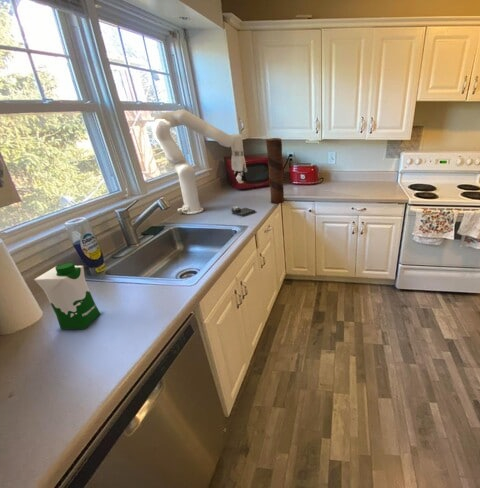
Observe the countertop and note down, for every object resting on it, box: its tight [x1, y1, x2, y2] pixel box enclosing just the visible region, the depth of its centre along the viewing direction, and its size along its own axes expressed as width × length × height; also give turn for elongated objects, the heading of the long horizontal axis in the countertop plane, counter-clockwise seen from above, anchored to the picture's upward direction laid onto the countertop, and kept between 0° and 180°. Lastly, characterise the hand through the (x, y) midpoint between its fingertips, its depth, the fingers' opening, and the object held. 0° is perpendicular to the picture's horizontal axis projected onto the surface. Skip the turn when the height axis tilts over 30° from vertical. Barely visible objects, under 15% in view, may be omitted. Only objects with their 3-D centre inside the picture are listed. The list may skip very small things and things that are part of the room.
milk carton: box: [33, 261, 101, 330], centre depth 83 cm, size 9×9×20 cm
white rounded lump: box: [236, 172, 245, 184], centre depth 197 cm, size 6×6×7 cm
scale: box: [230, 207, 256, 218], centre depth 185 cm, size 12×11×3 cm
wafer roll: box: [265, 137, 285, 204], centre depth 200 cm, size 10×11×45 cm
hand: (240, 180), depth 198 cm, fingers closed on white rounded lump, 6 cm apart
